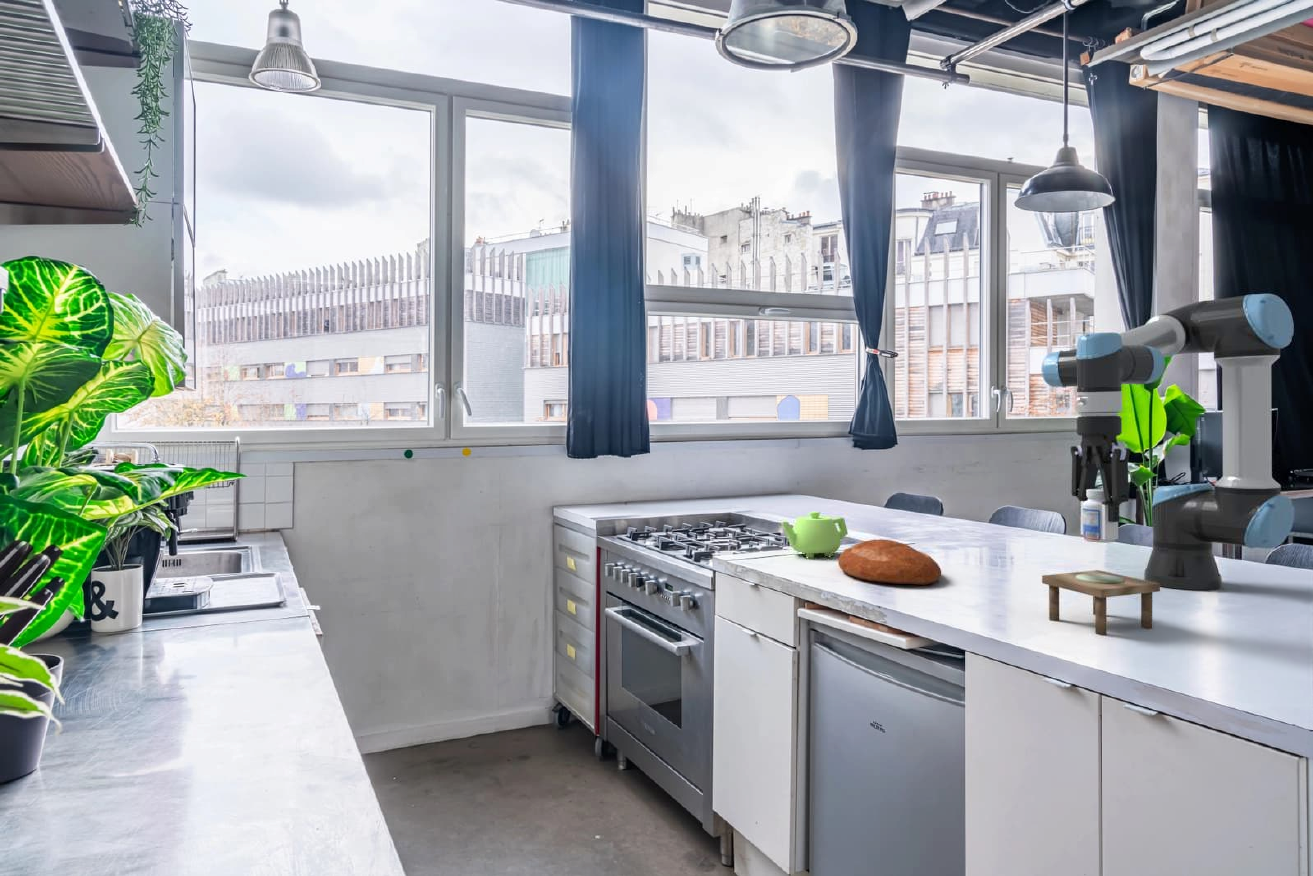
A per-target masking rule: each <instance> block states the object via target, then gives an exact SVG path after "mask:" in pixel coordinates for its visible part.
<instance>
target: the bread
mask: <svg viewBox="0 0 1313 876" xmlns="http://www.w3.org/2000/svg"><path fill="white" fill-rule="evenodd" d="M837 563H838V564H837V565H838V567H839V569H840V570H842V571H843V572H845V573H846V574H847V575H849V576H851V577H854V578H857V579H859V580H863V581H869V582H876V583H883V584H891V585H892V584H896V585H897V584H898V585H923V586H924V585H925V586H926V585H928V584H929V585H930V584H932V583H935V582H937V581H939V580H940V578H941V576H942V569H941V567H940V565H939V563H937V562H936V561H935V559H933V557H931V556H930V555H929V554H927V553H925V552H923V551H920V550H917V549H915V548H913V547H912V546H910V545H908V544H906V543H903V542H899V541H896V540H890V539H882V538H880V539H879V538H878V539H870V540H865V541H861V542H859V543H856V544H854V545H853V546H851V547H849V548H845V549H844V550H843V551H842V552H841V553H840V555H839V557H838V562H837Z"/></svg>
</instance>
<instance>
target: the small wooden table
mask: <svg viewBox="0 0 1313 876" xmlns="http://www.w3.org/2000/svg"><path fill="white" fill-rule="evenodd" d="M1041 583H1042V584H1044V585H1048V619H1049V620H1050V621H1053V622H1054V621H1055V622H1058V621H1060V589H1063V590H1067V591H1072V592H1075V593H1079V594H1084V595H1087V596H1090V597H1091V596H1092V615H1094V620H1095V621H1094V622H1095V623H1094V626H1095V627H1094V629H1095V630H1094V631H1095V634H1096V635H1100V636H1106V635H1107V627H1108V626H1107V598H1112V597H1113V598H1114V597H1120V596H1121V597H1122V596H1131V595H1139V594H1140V622H1141V623H1140V627H1141V628H1142V629H1146V630H1151V629H1152V630H1153V593H1157V592H1159V593H1160V592H1161V586H1160V583H1156V582H1151V581H1146V580H1144V579H1141V578H1137V577H1133V576H1132V577H1131V576H1128V575H1127V576H1126V575H1122V574H1118V573H1113V572H1107V571H1103V570H1099V569H1095V570H1086V571H1085V570H1084V571H1077V572H1076V571H1075V572H1065V573H1055V574H1054V573H1053V574H1045V575H1042V576H1041Z"/></svg>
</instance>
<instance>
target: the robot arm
mask: <svg viewBox="0 0 1313 876" xmlns="http://www.w3.org/2000/svg"><path fill="white" fill-rule="evenodd" d="M1294 325H1295V324H1294V320H1293V316H1292V312H1291V309H1290V308H1289V306H1288V305H1287V304H1286V302H1285V301H1284V300H1283V299H1282V298H1280V296H1278V295H1276V294H1274V293H1273V294H1272V293H1259V294H1258V293H1257V294H1254V293H1253V294H1252V293H1251V294H1246V295H1240V296H1233V297H1226V298H1224V297H1223V298H1219V299H1211V300H1201V301H1197V302H1192V303H1189V304H1186V305H1183V306H1181V307H1177V308H1175V309H1172V310H1169V311H1167V312H1163V313H1161V314H1159V315H1155V316H1153V317H1151V318H1150V319H1148V320H1147V322H1145V324H1144V325H1140V326H1138V327H1134V328H1132V329H1129V330H1127V331H1123V332H1119V333H1118V332H1097V333H1096V332H1093V333H1084V334H1081V335H1080V336H1079V337H1078V338H1077V344H1076V345H1077V346H1076V348H1073V349H1069V350H1059V351H1054V352H1050V353H1048V354H1047V355H1046V356H1045V357H1044V359H1043V361H1042V363H1041V368H1040V369H1041V374H1042V375H1041V376H1042V379H1043V381H1044V382H1045V383H1046V384H1047V385H1048V386H1050V387H1054V388H1055V387H1057V388H1058V387H1059V388H1067V387H1077V388H1076V392H1077V395H1076V396H1077V398H1076V403H1077V404H1076V412H1077V414H1080V416H1077V418H1076V434H1077V436H1081V442H1080V445H1075V446H1070V455H1071V458H1072V459H1071V462H1072V463H1071V496H1072V497H1076V499H1077V500H1078V501H1079V515H1080V535H1081V536H1083V503H1084V502H1085V501H1087V500H1088V497H1087V496H1086V491H1087V489H1096V482H1097V477H1098V473H1099V475H1100V480H1101V484H1102V489H1103V491H1104V497H1105V502H1102V539H1104V540H1109V539H1115V540H1119V522H1120V505H1122V503H1127V502H1129V499H1130V497H1129V496H1130V494H1129V458H1130V454H1131V451H1130V449H1129V448H1128V447H1127V448H1123V447H1120V446H1119V443H1118V440H1117V436H1120V435H1121V434H1122V433H1123V431H1122V427H1123V423H1122V421H1123V420H1122V417H1121V415H1119V414H1120V413H1122V412H1123V392H1122V385H1146V384H1150V383H1154V382H1156V381H1157V380H1158V379H1160V378H1161V377H1162V375H1163V373H1164V371H1165V368H1166V362H1165V358H1169V357H1172V356H1176V355H1181V354H1204V353H1205V354H1206V353H1213V361H1214V362H1216V364H1218V366H1220V367H1221V368H1222V369H1221V371H1222V374H1221V375H1222V376H1221V377H1222V380H1221V382H1222V383H1221V385H1222V387H1221V388H1222V394H1221V395H1222V396H1221V397H1222V401H1221V402H1222V403H1221V404H1222V477H1221V478H1220V479H1218V480H1217V481H1216V482H1215V483H1214V486H1213V484H1212V483H1195V484H1194V483H1191V484H1178V485H1177V484H1176V485H1167V486H1166V485H1164V486H1159V487H1156V488H1155V489H1154V491H1153V495H1152V504H1151V508H1152V550H1151V554H1150V556H1149V559H1148V562H1147V565H1146V568H1145V569H1144V573H1143V574H1144V576H1143V577H1144V578H1143V580H1146V581H1151V582H1156V583H1160V587H1164V588H1169V589H1170V588H1171V589H1179V590H1180V589H1181V590H1199V591H1200V590H1201V591H1203V590H1205V591H1206V590H1207V591H1209V590H1217V589H1221V588H1222V587H1223V586H1222V583H1223V582H1222V579H1223V578H1222V575H1221V573H1220V571H1219V568H1218V564H1217V562H1216V561H1217V560H1216V559H1215V557H1214V554H1213V543H1214V544H1217V543H1218V544H1223V545H1224V544H1225V545H1232V546H1238V547H1239V546H1240V547H1246V548H1249V549H1254V548H1259V549H1274V548H1276V547H1278V546H1279V545H1281V544H1282V543H1284V542H1285V540H1286V539H1287V537H1288V536H1289V534H1290V532H1291V530H1292V529H1293V528H1292V527H1293V524H1294V521H1295V506H1294V504H1293V501H1292V499H1291V498H1290V497H1289V496H1287V495H1285V494H1281V493H1282V492H1281V489H1282V486H1281V484H1280V483H1279V482H1277V481H1276V480H1275V479H1274V478H1273V475H1272V474H1273V471H1272V469H1273V467H1272V464H1273V463H1272V461H1273V460H1272V459H1273V458H1272V454H1273V453H1272V450H1273V447H1272V438H1273V437H1272V365H1273V364H1274V363H1275V362H1276V361H1277V360H1278V359H1280V357H1281V349H1284V348H1285V347H1287V346H1289V345H1290V343H1291V342H1292V338H1293V336H1294V330H1295V328H1294ZM1121 436H1122V435H1121Z"/></svg>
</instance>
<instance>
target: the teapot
mask: <svg viewBox="0 0 1313 876" xmlns="http://www.w3.org/2000/svg"><path fill="white" fill-rule="evenodd" d="M820 513H821V512H820V511H810V512H809V516H799V517H797V518H796V520H795V522H794V524H793V527H792V526H791V525H790V523H789V522H788V521H781V526H782V528H783V531H784V533H785V535H786V538H787V540H788V542H789V544H790V546H791V548H792V549H793V550H794V551H796V552H797V553H798V552H802V553H806V554H805V556H806V557H808V558H807V559H814V558H815V554H818V553H824V554H823V555H824V557H825V556H834V554H833V553H835V552H838V550H839V548H840V547H841V544H842V543H841V540H843V539H844V538H845V537H846V536H847V535H848V534H849V533H848V529H847V524H846V522H845V518H844V517H842V516H841V517H835V518H834V517H833V518H831V517H828V516H822V515H821V516H820ZM836 524H837V525H836ZM813 557H814V558H813Z"/></svg>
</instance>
